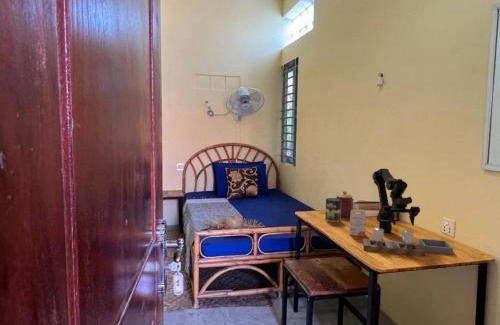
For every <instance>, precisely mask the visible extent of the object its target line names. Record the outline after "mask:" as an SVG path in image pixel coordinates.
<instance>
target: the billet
mask: <svg viewBox="0 0 500 325" xmlns="http://www.w3.org/2000/svg"><path fill="white" fill-rule="evenodd" d="M372 230H373V231H372V240H373V245H377V246H383V241H384V236H385V235H384V234H385V233H384V229H382V228H379V227H373V229H372Z"/></svg>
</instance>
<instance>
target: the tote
mask: <svg viewBox="0 0 500 325" xmlns="http://www.w3.org/2000/svg"><path fill="white" fill-rule="evenodd" d="M418 244H421V246H422V247H423V249H424V251H425V253H433V254H436V253H437V254H443V255H453V254H454V248H453V247H452V246H451V245H450V243H449V242H448V241H447V240H443V239H430V238H429V239H428V238H418Z"/></svg>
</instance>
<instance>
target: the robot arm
mask: <svg viewBox="0 0 500 325" xmlns="http://www.w3.org/2000/svg"><path fill="white" fill-rule="evenodd" d="M393 176H394V175H392V174H391V172H390V171H389V169H388V168H379V169H378V170H376V171H373V173H372V176H371V177H372V180H373V183H374V185H375V186H376V187H377V193H378V198H379V204H380V208H379V210H378V213H377V215H376V221H377V222H378V228H382V229H384V234H391V233H392V230H393V229H392V228H393V227H392V226H393V225H394V226H396V219H395V218H396V215H395V213H400V214H403V213H405V214H407V213H408V215H409V216H408V218H409V220H410V224H411V226H414V224H415V218H416V217H418V216H419V213H420V212H421V209H420V207H419V206H413V205H412V206H410V208H408V205H409V204H412V203H413V199H412V197H411V196H407V197H403V194H404V193H405V191H406V190H407V188H408V184H407V182H406V181H404V180H403V179H402V178H398V179H397V178H395V177H393ZM387 191H390V192H389V197H390V198H391V202H392V203H391V205H392V206H391V205H390V202H389V199H388V198H389V197H388V193H387ZM392 224H393V225H392Z"/></svg>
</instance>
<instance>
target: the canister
mask: <svg viewBox="0 0 500 325" xmlns="http://www.w3.org/2000/svg"><path fill="white" fill-rule="evenodd" d="M335 198H337V199H341V200H342V201H341V218H350V215H351V210H354V201H355V200H354V196H353V195H352V194H351V193H347V191H346V190H343V191H342V192H341V193H337V194H336V197H335Z"/></svg>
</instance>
